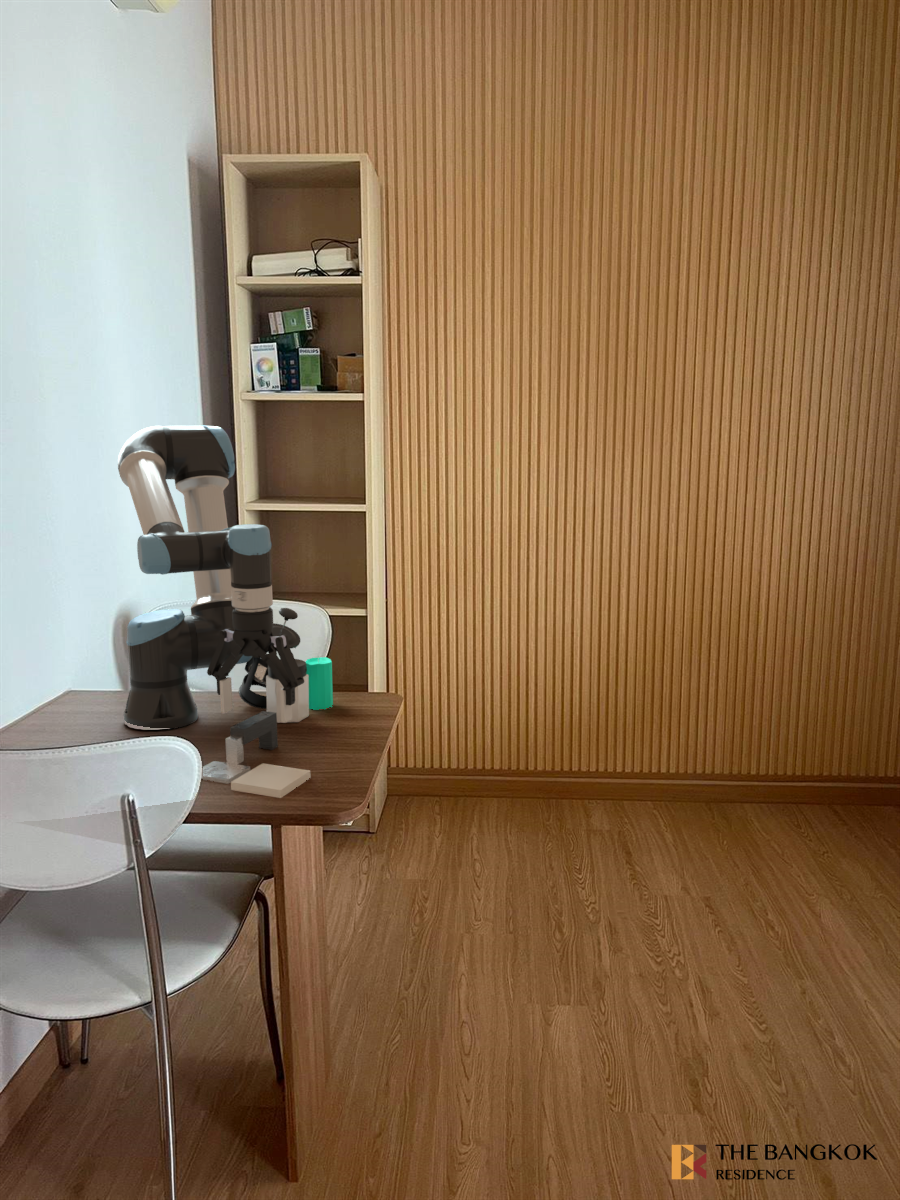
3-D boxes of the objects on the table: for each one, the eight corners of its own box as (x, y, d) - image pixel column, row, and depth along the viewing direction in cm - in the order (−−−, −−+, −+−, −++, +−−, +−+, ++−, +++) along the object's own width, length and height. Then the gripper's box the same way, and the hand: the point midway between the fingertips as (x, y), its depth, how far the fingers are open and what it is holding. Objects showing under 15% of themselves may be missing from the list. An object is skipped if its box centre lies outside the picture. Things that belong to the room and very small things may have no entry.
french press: (289, 706, 217) (320, 623, 207) (255, 714, 210) (285, 628, 200) (260, 675, 223) (289, 593, 213) (226, 682, 216) (254, 597, 206)
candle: (316, 700, 220) (314, 649, 218) (338, 704, 217) (336, 652, 215) (300, 707, 215) (298, 655, 212) (322, 711, 212) (321, 658, 210)
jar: (315, 718, 207) (314, 664, 204) (281, 726, 202) (280, 670, 199) (294, 708, 214) (293, 656, 211) (261, 715, 208) (260, 661, 206)
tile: (262, 763, 176) (230, 782, 167) (310, 770, 172) (280, 790, 163) (263, 773, 176) (231, 792, 167) (310, 780, 173) (280, 800, 164)
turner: (254, 743, 191) (252, 709, 190) (288, 748, 188) (287, 714, 187) (190, 777, 173) (188, 740, 172) (227, 783, 170) (225, 746, 169)
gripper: (185, 605, 182) (190, 713, 186) (299, 617, 172) (302, 730, 176) (209, 598, 188) (214, 702, 193) (320, 609, 179) (323, 718, 183)
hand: (256, 716), depth 185 cm, fingers open, 13 cm apart
